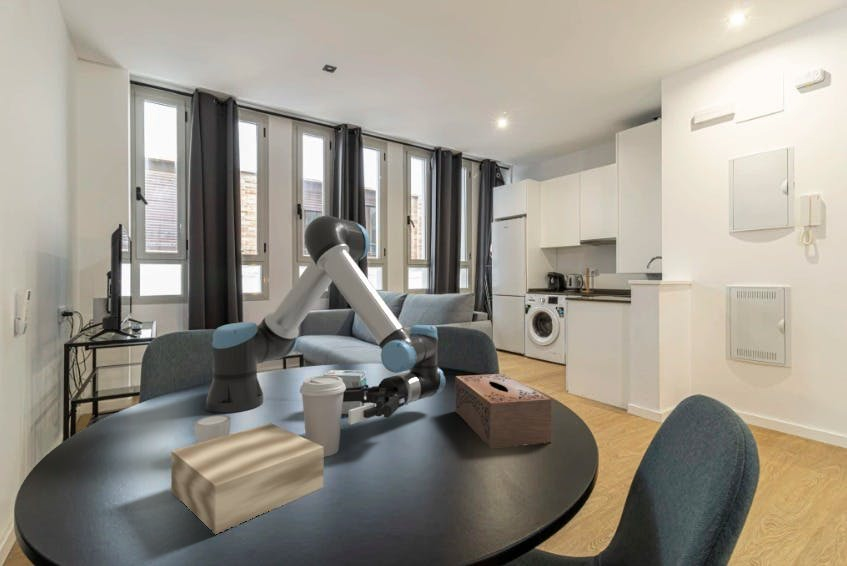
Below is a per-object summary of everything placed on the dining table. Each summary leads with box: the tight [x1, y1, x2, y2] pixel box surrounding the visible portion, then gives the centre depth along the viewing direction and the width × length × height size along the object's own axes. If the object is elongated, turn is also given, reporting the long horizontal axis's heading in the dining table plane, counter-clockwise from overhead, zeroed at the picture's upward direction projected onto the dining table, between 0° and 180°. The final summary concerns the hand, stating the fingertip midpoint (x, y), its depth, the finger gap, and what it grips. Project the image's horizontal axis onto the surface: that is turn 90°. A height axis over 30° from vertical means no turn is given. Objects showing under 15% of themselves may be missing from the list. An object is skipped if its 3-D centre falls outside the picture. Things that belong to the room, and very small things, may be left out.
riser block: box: [170, 423, 325, 534], centre depth 70 cm, size 18×18×7 cm
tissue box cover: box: [454, 373, 552, 449], centre depth 101 cm, size 26×14×10 cm, turn 13°
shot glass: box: [193, 414, 232, 444], centre depth 84 cm, size 7×7×7 cm
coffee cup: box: [299, 375, 346, 457], centre depth 86 cm, size 10×10×15 cm
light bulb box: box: [323, 369, 368, 415], centre depth 113 cm, size 11×7×11 cm, turn 84°
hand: (329, 410), depth 86 cm, fingers open, 13 cm apart
